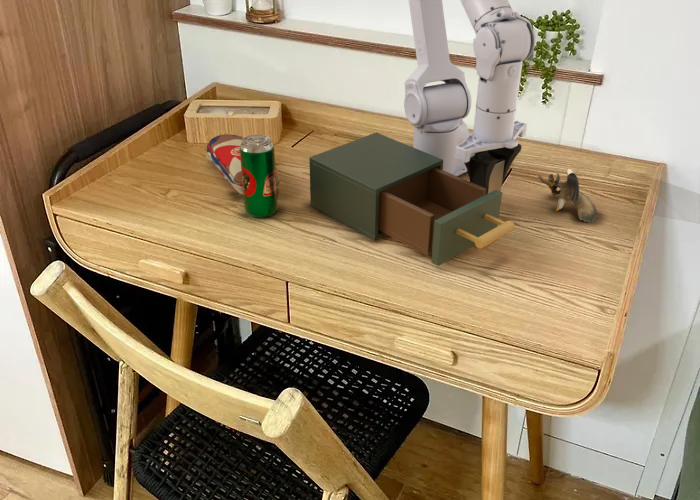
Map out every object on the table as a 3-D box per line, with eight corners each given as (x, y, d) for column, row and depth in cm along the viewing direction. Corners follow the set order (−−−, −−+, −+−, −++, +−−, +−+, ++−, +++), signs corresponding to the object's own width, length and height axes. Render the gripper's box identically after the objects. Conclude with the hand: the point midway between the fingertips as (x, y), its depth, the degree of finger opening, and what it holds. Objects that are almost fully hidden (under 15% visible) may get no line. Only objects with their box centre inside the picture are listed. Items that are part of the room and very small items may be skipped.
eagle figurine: (526, 198, 112) (569, 213, 105) (545, 156, 112) (589, 168, 104) (556, 213, 117) (598, 228, 109) (574, 173, 116) (618, 185, 109)
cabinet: (439, 208, 112) (443, 159, 107) (374, 240, 104) (376, 189, 99) (375, 178, 121) (376, 132, 116) (310, 205, 112) (309, 157, 108)
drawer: (524, 245, 101) (530, 203, 98) (465, 281, 93) (470, 237, 90) (428, 200, 112) (431, 162, 109) (368, 229, 105) (369, 188, 101)
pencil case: (213, 207, 112) (210, 178, 109) (205, 155, 128) (202, 129, 125) (283, 199, 114) (281, 171, 112) (266, 150, 130) (264, 124, 128)
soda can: (272, 220, 108) (267, 148, 102) (240, 217, 109) (234, 145, 103) (281, 205, 113) (277, 134, 106) (251, 202, 113) (245, 131, 107)
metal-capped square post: (482, 187, 112) (487, 149, 108) (501, 195, 110) (506, 156, 106) (468, 194, 110) (472, 156, 106) (487, 202, 108) (491, 163, 104)
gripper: (487, 127, 95) (477, 215, 103) (548, 101, 104) (535, 184, 111) (446, 113, 100) (439, 198, 107) (509, 89, 108) (498, 170, 115)
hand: (486, 190), depth 109 cm, fingers closed on metal-capped square post, 3 cm apart
